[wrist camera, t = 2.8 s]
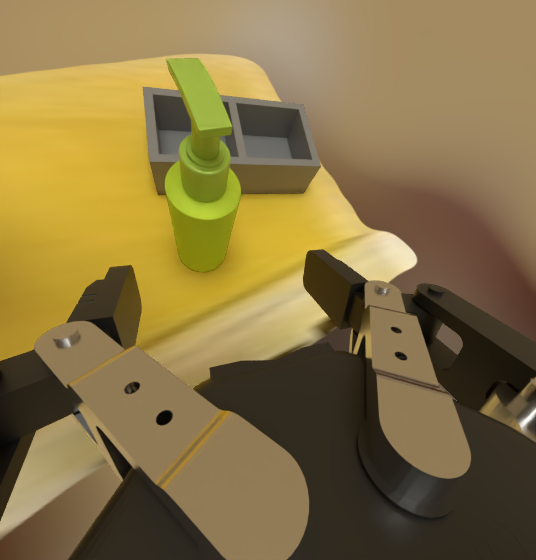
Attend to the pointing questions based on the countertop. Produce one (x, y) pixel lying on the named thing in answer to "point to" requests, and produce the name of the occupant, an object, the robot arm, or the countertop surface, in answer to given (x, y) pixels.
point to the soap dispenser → (202, 172)
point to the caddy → (238, 141)
